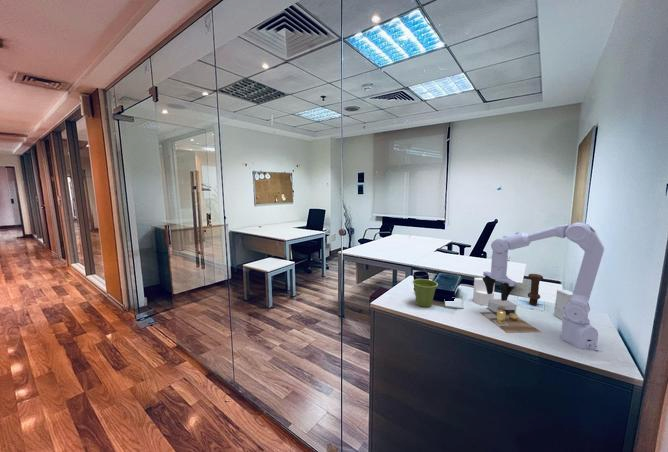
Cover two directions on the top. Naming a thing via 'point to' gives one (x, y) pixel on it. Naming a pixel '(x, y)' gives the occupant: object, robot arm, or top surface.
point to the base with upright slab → (481, 292)
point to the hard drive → (454, 304)
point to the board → (513, 323)
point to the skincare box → (561, 302)
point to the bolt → (534, 288)
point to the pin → (501, 317)
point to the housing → (501, 305)
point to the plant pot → (424, 291)
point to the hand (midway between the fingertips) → (496, 296)
